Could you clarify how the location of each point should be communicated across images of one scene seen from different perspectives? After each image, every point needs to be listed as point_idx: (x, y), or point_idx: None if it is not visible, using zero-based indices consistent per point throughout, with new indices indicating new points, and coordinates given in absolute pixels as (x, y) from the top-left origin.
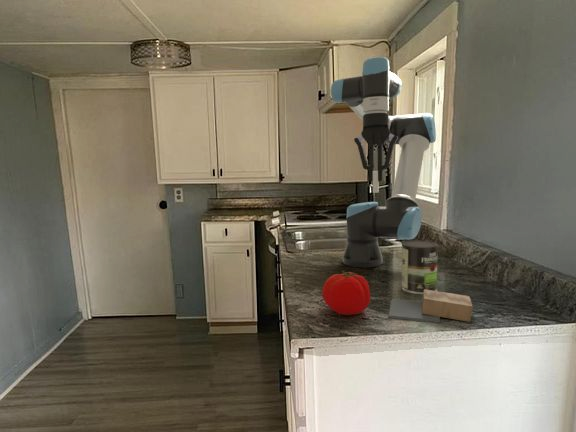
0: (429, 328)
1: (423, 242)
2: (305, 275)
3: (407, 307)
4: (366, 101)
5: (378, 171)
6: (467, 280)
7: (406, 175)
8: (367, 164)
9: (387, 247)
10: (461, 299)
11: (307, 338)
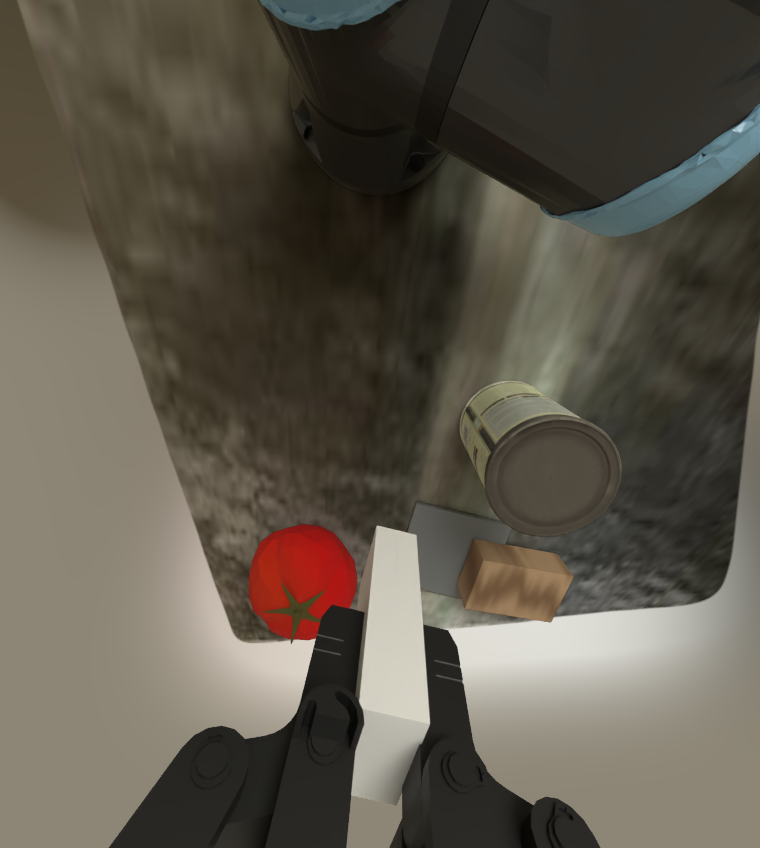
0: (454, 616)
1: (579, 450)
2: (178, 293)
3: (438, 549)
4: None
5: (409, 780)
6: (679, 351)
7: None
8: (218, 830)
9: None
10: (545, 596)
11: (253, 642)
